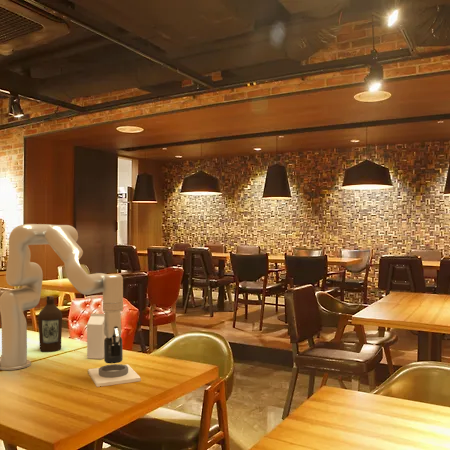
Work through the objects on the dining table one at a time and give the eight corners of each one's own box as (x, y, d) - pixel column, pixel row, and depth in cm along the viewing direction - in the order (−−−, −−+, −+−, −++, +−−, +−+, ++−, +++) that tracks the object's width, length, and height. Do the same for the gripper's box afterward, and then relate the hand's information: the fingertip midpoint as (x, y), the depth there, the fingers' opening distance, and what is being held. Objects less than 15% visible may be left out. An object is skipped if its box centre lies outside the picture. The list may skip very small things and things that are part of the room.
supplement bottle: (126, 360, 190) (126, 329, 190) (115, 364, 184) (114, 332, 184) (111, 358, 193) (111, 327, 193) (100, 362, 186) (100, 331, 187)
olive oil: (38, 348, 234) (38, 295, 234) (62, 346, 238) (61, 294, 238) (38, 353, 224) (37, 298, 224) (62, 351, 228) (62, 297, 228)
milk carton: (102, 359, 213) (102, 315, 213) (87, 358, 214) (86, 314, 215) (109, 355, 220) (109, 312, 220) (94, 354, 221) (94, 312, 222)
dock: (96, 387, 176) (96, 378, 176) (87, 372, 194) (87, 364, 194) (140, 381, 182) (140, 372, 182) (128, 367, 200) (128, 359, 200)
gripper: (98, 304, 195) (99, 349, 194) (107, 311, 179) (108, 360, 179) (117, 303, 198) (118, 347, 198) (128, 309, 182) (128, 357, 182)
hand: (113, 353), depth 188 cm, fingers closed on supplement bottle, 6 cm apart
